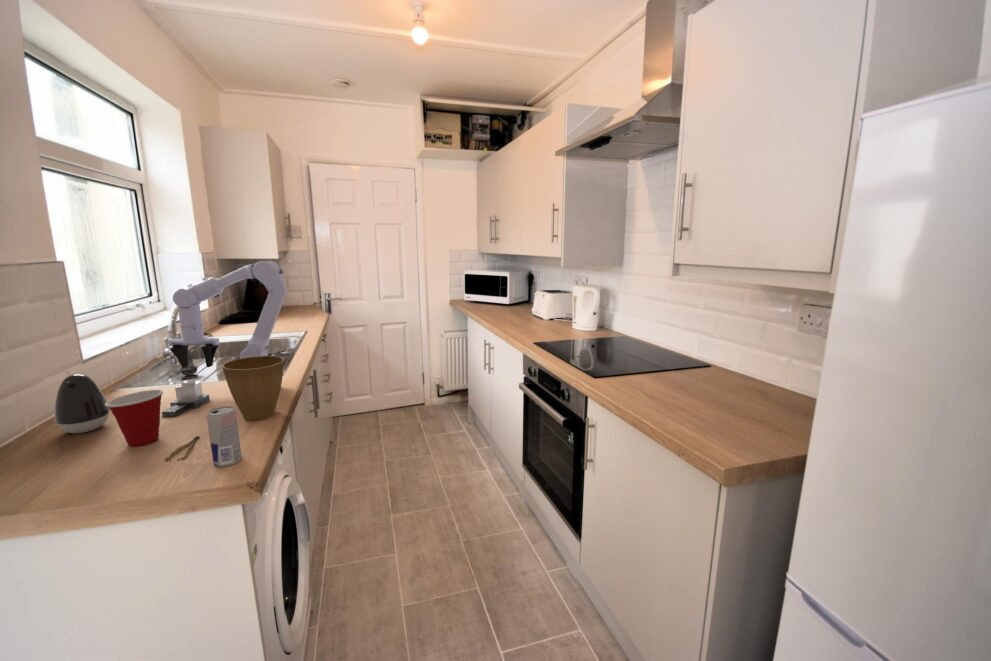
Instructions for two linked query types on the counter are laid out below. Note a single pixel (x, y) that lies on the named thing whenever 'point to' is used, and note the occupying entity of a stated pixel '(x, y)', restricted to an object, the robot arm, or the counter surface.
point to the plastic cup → (138, 416)
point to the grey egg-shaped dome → (80, 405)
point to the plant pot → (255, 384)
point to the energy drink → (224, 436)
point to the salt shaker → (189, 368)
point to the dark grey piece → (184, 406)
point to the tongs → (182, 449)
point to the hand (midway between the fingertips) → (197, 366)
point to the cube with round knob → (188, 390)
